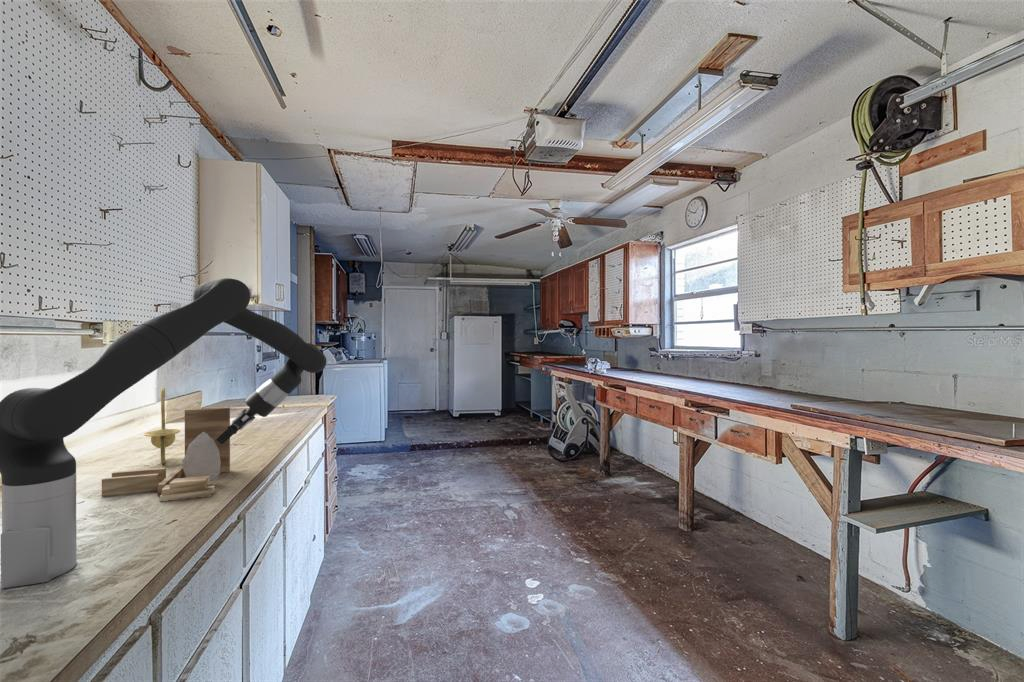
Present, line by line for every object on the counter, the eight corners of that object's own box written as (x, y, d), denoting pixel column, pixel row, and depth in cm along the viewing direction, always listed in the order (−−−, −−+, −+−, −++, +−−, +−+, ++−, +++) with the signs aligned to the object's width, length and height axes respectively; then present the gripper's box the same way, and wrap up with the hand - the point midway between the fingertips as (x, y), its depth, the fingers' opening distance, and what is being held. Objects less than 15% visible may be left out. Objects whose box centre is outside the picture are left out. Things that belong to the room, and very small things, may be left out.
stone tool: (181, 489, 124) (181, 435, 124) (182, 486, 127) (182, 433, 127) (220, 484, 129) (220, 432, 128) (221, 481, 131) (221, 430, 131)
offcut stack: (210, 496, 119) (210, 479, 119) (159, 501, 115) (159, 484, 115) (214, 490, 123) (214, 474, 123) (166, 495, 119) (166, 478, 119)
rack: (215, 490, 124) (215, 418, 123) (157, 496, 119) (157, 421, 119) (230, 470, 141) (230, 407, 141) (180, 475, 136) (180, 409, 136)
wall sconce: (145, 460, 152) (145, 386, 151) (180, 456, 157) (180, 385, 157) (142, 470, 141) (142, 391, 140) (180, 465, 146) (180, 389, 146)
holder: (157, 491, 123) (157, 474, 123) (101, 496, 118) (101, 479, 118) (166, 483, 129) (166, 467, 129) (113, 487, 125) (113, 471, 125)
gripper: (261, 386, 139) (218, 425, 135) (253, 391, 126) (205, 435, 122) (280, 402, 141) (238, 441, 137) (274, 409, 128) (227, 453, 124)
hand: (222, 438), depth 129 cm, fingers open, 8 cm apart
